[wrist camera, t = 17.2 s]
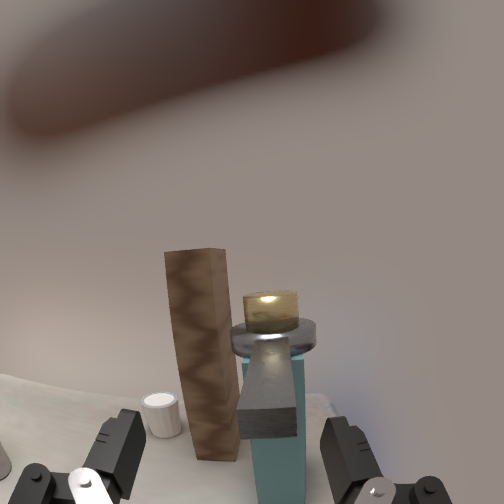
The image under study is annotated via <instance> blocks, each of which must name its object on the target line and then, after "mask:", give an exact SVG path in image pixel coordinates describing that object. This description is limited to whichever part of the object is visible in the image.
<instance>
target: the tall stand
mask: <svg viewBox="0 0 504 504" xmlns="http://www.w3.org/2000/svg"><path fill="white" fill-rule="evenodd" d="M164 256H165V268H166V278H167V289H168V298H169V305H170V306H169V307H170V315H171V323H172V331H173V338H174V344H175V351H176V357H177V364H178V370H179V376H180V381H181V387H182V392H183V398H184V403H185V408H186V413H187V418H188V422H189V427H190V431H191V436H192V440H193V444H194V449H195V453H196V457H197V459H199V460H213V461H236V457H237V452H238V448H239V443H240V435H239V427H238V420H237V412H236V408H237V405H238V401H239V397H240V394H239V384H238V376H237V367H236V358H235V354H234V353H233V352H232V349H231V340H230V329H231V328H232V319H231V308H230V298H229V287H228V276H227V264H226V252H225V249H216V248H204V249H193V250H182V251H171V252H164Z"/></svg>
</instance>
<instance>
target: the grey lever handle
mask: <svg viewBox="0 0 504 504" xmlns="http://www.w3.org/2000/svg"><path fill="white" fill-rule="evenodd" d="M243 304H244V315H245V323H242V324H239V325H236V326H234V327H232V328H231V329H230V340H231V349H232V352H233V353H234V354H236V355H237V356H240V357H243V358H247V359H250V361H249V365H248V369H247V372H246V376H245V379H244V383H243V387H242V391H241V394H240V397H239V401H238V405H237V408H236V412H237V420H238V427H239V435H240V439H272V438H289V437H297V412H296V399H295V390H294V381H293V372H292V364H291V357H294V356H298V355H301V354H303V353H306V352H308V351H310V350H311V349H313V348H314V347H315V345H316V324H315V323H314V322H313V321H311V320H308V319H303V318H299V313H298V298H297V292H296V291H289V290H285V291H284V290H279V291H266V292H257V293H252V294H247V295H244V296H243Z"/></svg>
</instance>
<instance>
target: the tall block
mask: <svg viewBox="0 0 504 504" xmlns="http://www.w3.org/2000/svg"><path fill="white" fill-rule="evenodd" d="M249 361H250V359H247V358H243V361H242V371H243V380H244V379H245V376H246V372H247V369H248V365H249ZM291 364H292V372H293V381H294V390H295V399H296V412H297V437H289V438H272V439H250V442H251V450H252V458H253V466H254V474H255V481H256V489H257V496H258V504H305V480H306V418H305V378H304V358H303V354H301V355H298V356H294V357H291Z"/></svg>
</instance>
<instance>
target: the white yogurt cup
mask: <svg viewBox="0 0 504 504" xmlns="http://www.w3.org/2000/svg"><path fill="white" fill-rule="evenodd" d="M140 402H141V405H142V408H143V410H144V413H145V416H146V418H147V421H148V424H149V426H150V429H151V431H152V433H153V435H155V436H156V437H159V438H170V437H174V436H176V435H178V434H179V433H180V432H181V423H180V415H179V405H178V397H177V396H176V395H175V394H173V393H171V392H155V393H150V394H148V395H145V396H144V397H143V398H142V399H141V401H140Z"/></svg>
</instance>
